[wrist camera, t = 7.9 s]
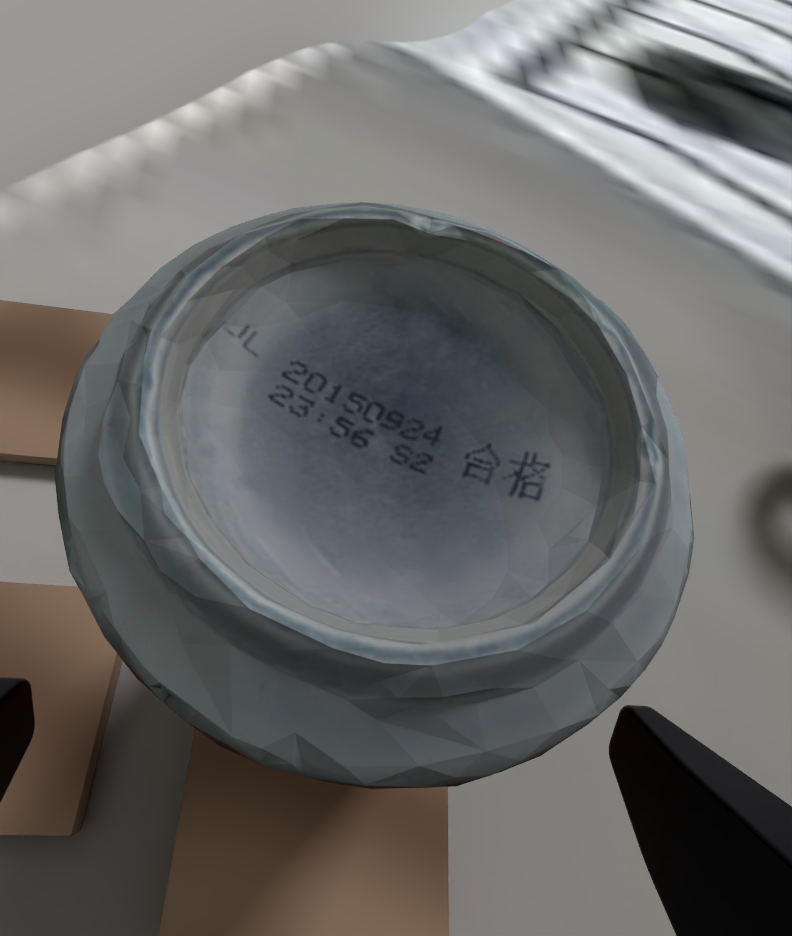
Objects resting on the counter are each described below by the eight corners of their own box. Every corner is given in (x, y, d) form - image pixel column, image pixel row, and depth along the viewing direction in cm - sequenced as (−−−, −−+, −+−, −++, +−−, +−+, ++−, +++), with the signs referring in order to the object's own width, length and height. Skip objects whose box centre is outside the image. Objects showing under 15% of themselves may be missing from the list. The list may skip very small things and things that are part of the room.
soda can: (426, 771, 15) (785, 933, 4) (181, 700, 14) (-226, 643, 3) (472, 538, 18) (736, 249, 7) (272, 478, 18) (212, 83, 7)
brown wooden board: (443, 928, 14) (448, 936, 13) (163, 931, 13) (157, 940, 12) (441, 407, 21) (444, 398, 20) (260, 386, 20) (258, 377, 19)
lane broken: (80, 830, 13) (70, 835, 13) (-231, 827, 12) (-255, 832, 12) (202, 335, 20) (199, 325, 20) (7, 311, 19) (-1, 299, 19)
